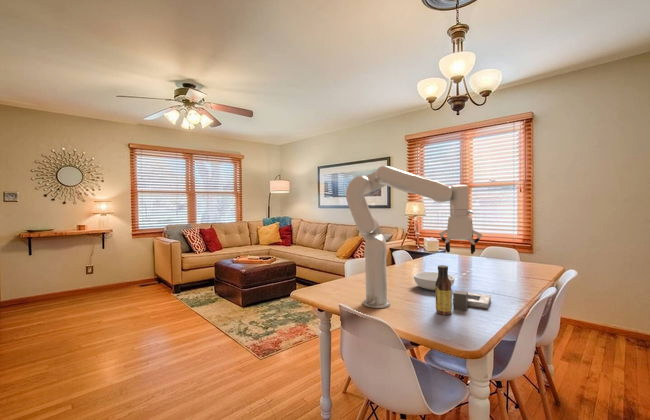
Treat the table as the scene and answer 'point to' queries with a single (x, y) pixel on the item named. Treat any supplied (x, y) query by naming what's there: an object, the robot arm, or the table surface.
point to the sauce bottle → (443, 291)
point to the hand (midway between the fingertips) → (460, 252)
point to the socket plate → (478, 300)
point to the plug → (460, 300)
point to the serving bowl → (429, 279)
